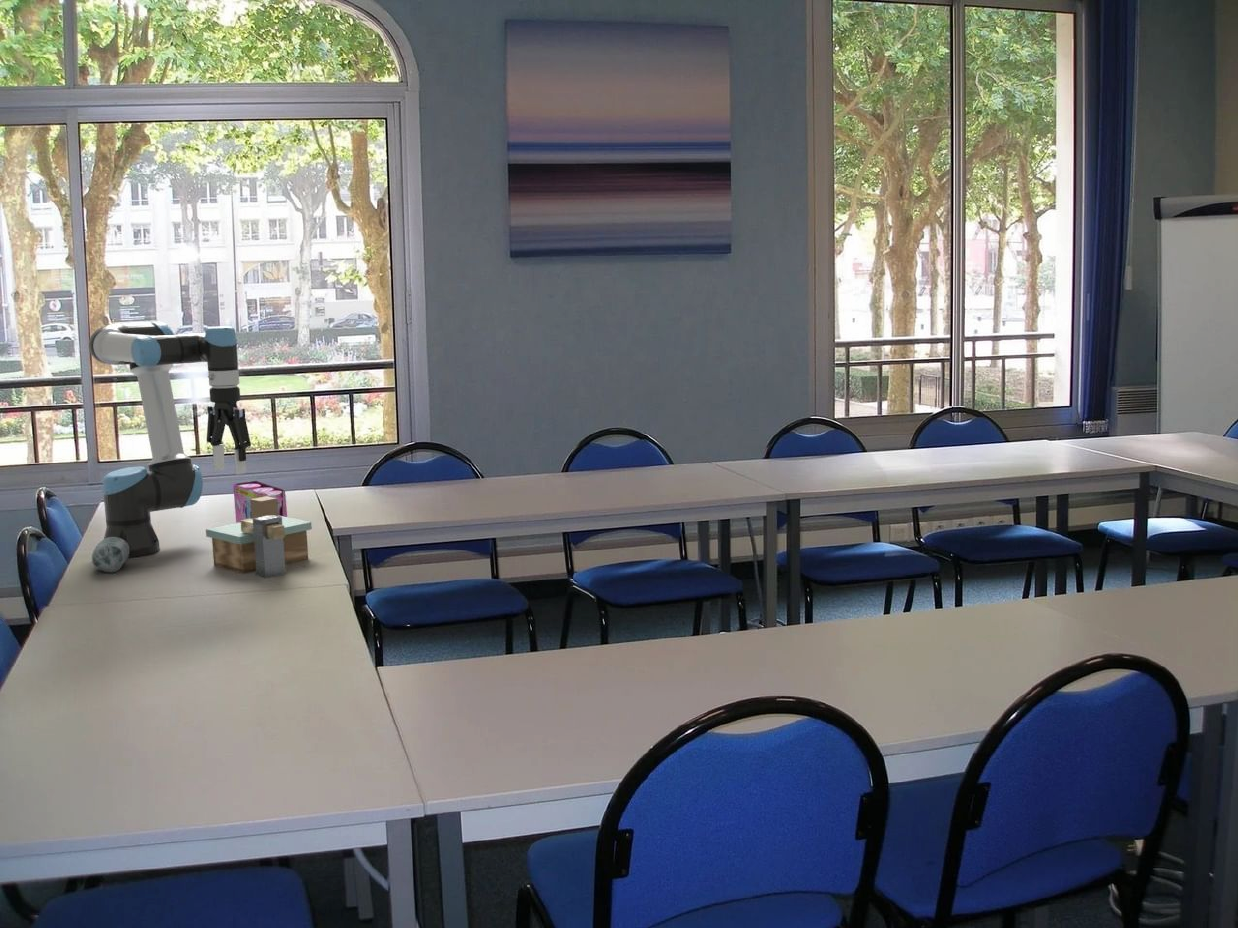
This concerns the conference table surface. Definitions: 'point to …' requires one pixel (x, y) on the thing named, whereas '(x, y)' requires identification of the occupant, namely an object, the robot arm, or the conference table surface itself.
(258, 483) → the gum box
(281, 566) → the keeper
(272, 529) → the wooden bar
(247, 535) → the lid
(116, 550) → the spool
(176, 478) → the robot arm
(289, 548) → the open wooden box
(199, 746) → the conference table surface
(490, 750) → the conference table surface
